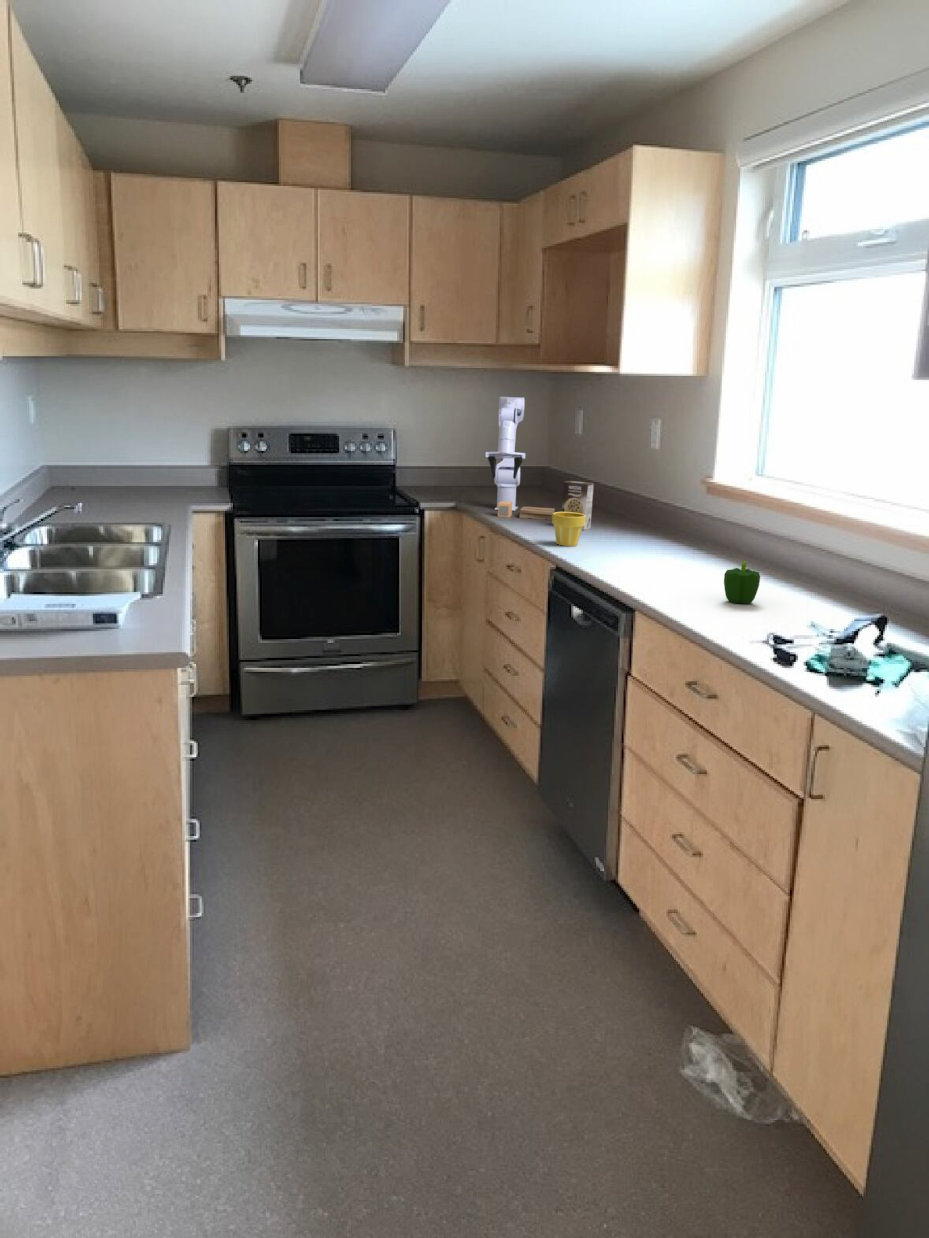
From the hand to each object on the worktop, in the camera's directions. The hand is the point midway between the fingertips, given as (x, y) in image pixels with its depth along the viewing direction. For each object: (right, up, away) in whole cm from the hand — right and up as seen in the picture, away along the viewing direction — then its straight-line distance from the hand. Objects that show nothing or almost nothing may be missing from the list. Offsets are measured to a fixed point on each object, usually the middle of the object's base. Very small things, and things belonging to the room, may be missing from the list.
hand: (504, 477), depth 366 cm
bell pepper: (+53, -48, -121) cm, 140 cm away
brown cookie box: (+25, -20, -15) cm, 35 cm away
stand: (+13, -14, +7) cm, 20 cm away
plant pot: (+18, -28, -49) cm, 59 cm away
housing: (+1, -13, +8) cm, 16 cm away
